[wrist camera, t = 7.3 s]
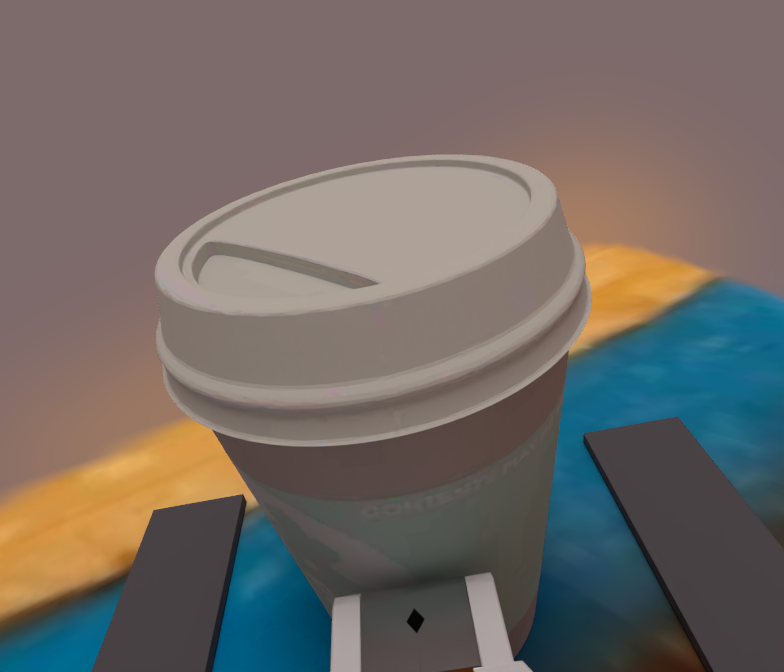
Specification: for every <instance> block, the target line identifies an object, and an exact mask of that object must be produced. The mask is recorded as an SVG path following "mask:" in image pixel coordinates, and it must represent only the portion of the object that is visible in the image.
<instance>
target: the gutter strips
mask: <svg viewBox="0 0 784 672" xmlns="http://www.w3.org/2000/svg"><path fill="white" fill-rule="evenodd" d="M584 443H585V445H586V447H587V449H588V450H589V452H590V454H591V456H592V458H593V460H594V462H595V464H596V465H597V467H598V469H599V471H600V473H601V475H602V477H603V478H604V480H605V482H606V484H607V486H608V488H609V490H610V491H611V493H612V495H613V497H614V499H615V501H616V503H617V505H618V506H619V508H620V510H621V512H622V514H623V516H624V518H625V519H626V521H627V523H628V525H629V527H630V529H631V531H632V532H633V534H634V536H635V538H636V540H637V542H638V544H639V546H640V547H641V549H642V551H643V553H644V555H645V557H646V559H647V560H648V562H649V564H650V566H651V568H652V570H653V572H654V574H655V575H656V577H657V579H658V581H659V583H660V585H661V587H662V588H663V590H664V592H665V594H666V596H667V598H668V600H669V601H670V603H671V605H672V607H673V609H674V611H675V613H676V615H677V616H678V618H679V620H680V622H681V624H682V626H683V628H684V629H685V631H686V633H687V635H688V637H689V639H690V641H691V642H692V644H693V646H694V648H695V650H696V652H697V654H698V656H699V657H700V659H701V661H702V663H703V665H704V667H705V669H706V670H707V672H784V549H783V548H782V547H781V545H780V544H779V543H778V542H777V540H776V539H775V538H774V537H773V535H772V534H771V533H770V532H769V530H768V529H767V528H766V527H765V525H764V524H763V523H762V522H761V520H760V519H759V518H758V517H757V515H756V514H755V513H754V512H753V510H752V509H751V508H750V507H749V505H748V504H747V503H746V502H745V500H744V499H743V498H742V497H741V495H740V494H739V493H738V492H737V490H736V489H735V488H734V487H733V485H732V484H731V483H730V481H729V480H728V479H727V478H726V476H725V475H724V474H723V473H722V471H721V470H720V469H719V468H718V466H717V465H716V464H715V463H714V461H713V460H712V459H711V458H710V456H709V455H708V454H707V453H706V451H705V450H704V449H703V448H702V446H701V445H700V444H699V443H698V441H697V440H696V439H695V438H694V436H693V435H692V434H691V433H690V431H689V430H688V429H687V428H686V426H685V425H684V424H683V422H682V421H681V420H680V419H679V417H674V418H668V419H662V420H657V421H651V422H646V423H640V424H634V425H629V426H623V427H618V428H612V429H606V430H601V431H595V432H590V433H584ZM245 506H246V500H245V497H244V495H243V494H242V495H236V496H231V497H225V498H219V499H214V500H208V501H203V502H197V503H191V504H186V505H180V506H175V507H169V508H163V509H158V510H154V511H153V513H152V516H151V519H150V521H149V524H148V526H147V529H146V532H145V534H144V537H143V539H142V542H141V545H140V547H139V550H138V552H137V555H136V558H135V560H134V563H133V565H132V568H131V571H130V573H129V576H128V578H127V581H126V584H125V586H124V589H123V591H122V594H121V596H120V599H119V602H118V604H117V607H116V609H115V612H114V615H113V617H112V620H111V622H110V625H109V628H108V630H107V633H106V635H105V638H104V641H103V643H102V646H101V648H100V651H99V654H98V656H97V659H96V661H95V664H94V667H93V669H92V672H211V671H212V666H213V661H214V656H215V651H216V646H217V642H218V637H219V632H220V627H221V622H222V617H223V612H224V608H225V603H226V598H227V593H228V588H229V583H230V578H231V574H232V569H233V564H234V559H235V554H236V549H237V544H238V540H239V535H240V530H241V525H242V520H243V515H244V510H245Z"/></svg>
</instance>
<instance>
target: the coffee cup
mask: <svg viewBox="0 0 784 672" xmlns="http://www.w3.org/2000/svg"><path fill="white" fill-rule="evenodd" d="M585 267H586V264H585V257H584V253H583V250H582V248H581V245H580V243H579V242H578V240H577V239H576V237H575V236H574V235H573V234H572V232H571V231H570V230H569V229H568V226H567V223H566V220H565V217H564V213H563V210H562V207H561V203H560V200H559V197H558V194H557V190H556V189H555V187H554V185H553V183H552V182H551V181H550V180H549V179H548V178H547V177H546V176H545V175H544V174H542V173H541V172H540V171H537V170H536V169H533V168H531V167H530V166H527V165H524V164H521V163H518V162H515V161H510V160H505V159H501V158H495V157H487V156H477V155H424V156H410V157H401V158H392V159H384V160H377V161H372V162H365V163H359V164H354V165H350V166H345V167H340V168H335V169H331V170H327V171H323V172H319V173H315V174H311V175H307V176H304V177H301V178H297V179H294V180H291V181H287V182H284V183H281V184H278V185H275V186H272V187H270V188H267V189H265V190H262V191H259V192H256V193H253V194H251V195H249V196H246V197H244V198H242V199H239V200H237V201H235V202H232V203H230V204H228V205H226V206H224V207H222V208H220V209H219V210H217V211H215V212H213V213H211V214H209V215H207V216H206V217H204V218H202V219H201V220H199V221H198V222H196V223H195V224H193V225H192V226H190V227H189V228H187V229H186V230H185V231H183V232H182V233H181V234H180V235H179V236H177V237H176V238H175V239H174V240H173V241H172V242H171V243H170V244H169V245H168V246H167V248H166V249H165V250H164V251H163V253H162V254H161V256H160V258H159V260H158V262H157V265H156V268H155V282H156V290H157V296H158V297H157V298H158V305H159V312H160V320H159V323H158V327H157V332H156V348H157V352H158V356H159V358H160V360H161V362H162V364H163V377H164V382H165V386H166V388H167V391H168V393H169V395H170V396H171V398H172V399H173V401H174V402H175V404H176V405H177V406H178V407H179V408H180V409H181V410H182V411H183V412H184V413H185V414H187V415H188V416H189V417H191V418H192V419H193V420H195V421H197V422H198V423H200V424H202V425H204V426H206V427H208V428H210V429H212V430H213V432H214V433H215V435H216V437H217V438H218V440H219V441H220V443H221V445H222V446H223V448H224V450H225V451H226V453H227V454H228V456H229V458H230V459H231V461H232V462H233V464H234V465H235V467H236V469H237V470H238V472H239V473H240V475H241V476H242V478H243V480H244V481H245V483H246V484H247V486H248V487H249V489H250V491H251V492H252V494H253V495H254V497H255V498H256V500H257V502H258V503H259V505H260V506H261V508H262V509H263V511H264V513H265V514H266V516H267V517H268V519H269V520H270V522H271V524H272V525H273V527H274V528H275V530H276V531H277V533H278V535H279V536H280V538H281V539H282V541H283V542H284V544H285V546H286V547H287V549H288V550H289V552H290V553H291V555H292V557H293V558H294V560H295V561H296V563H297V564H298V566H299V568H300V569H301V571H302V572H303V574H304V575H305V577H306V579H307V580H308V582H309V583H310V585H311V586H312V588H313V590H314V591H315V593H316V594H317V596H318V597H319V599H320V601H321V602H322V604H323V605H324V607H325V608H326V610H327V612H328V613H329V615H330V616H331V618H332V609H333V604H334V600H335V598H338V597H344V596H350V595H356V594H364V593H371V592H377V591H383V590H390V589H396V588H402V587H409V586H413V585H417V584H422V583H427V582H433V581H438V580H444V579H449V578H454V577H460V576H464V577H465V576H470V575H475V574H481V573H486V572H491V574H492V576H493V579H494V583H495V587H496V591H497V595H498V599H499V603H500V607H501V611H502V615H503V619H504V623H505V627H506V631H507V635H508V639H509V643H510V647H511V651H512V655H513V659H514V658H515V657H516V656H517V654H518V653H519V651H520V650H521V648H522V647H523V645H524V643H525V641H526V639H527V637H528V635H529V633H530V630H531V627H532V624H533V620H534V615H535V608H536V601H537V594H538V587H539V580H540V573H541V565H542V558H543V550H544V542H545V534H546V526H547V519H548V511H549V503H550V495H551V487H552V480H553V472H554V464H555V456H556V448H557V440H558V433H559V425H560V417H561V409H562V401H563V394H564V386H565V378H566V368H567V360H568V352H569V349H570V348H571V347H572V345H573V344H574V343H575V341H576V340H577V339H578V337H579V336H580V334H581V332H582V331H583V329H584V327H585V325H586V322H587V320H588V317H589V314H590V310H591V303H592V293H591V287H590V283H589V280H588V277H587V275H586V273H585ZM464 581H465V580H464Z"/></svg>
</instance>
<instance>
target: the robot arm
mask: <svg viewBox="0 0 784 672" xmlns="http://www.w3.org/2000/svg"><path fill="white" fill-rule="evenodd" d="M464 580H465V581H464ZM330 672H533V671H532V670H531V669H530V668H529V667H528V666H527V665H526V664H525V663H524V662H523V661H514V659H513V655H512V651H511V647H510V643H509V639H508V635H507V631H506V627H505V623H504V619H503V615H502V611H501V607H500V603H499V599H498V595H497V591H496V587H495V583H494V579H493V576H492V574H491V572H486V573H481V574H475V575H470V576H465V577H464V576H460V577H454V578H449V579H444V580H438V581H433V582H427V583H422V584H417V585H413V586H409V587H402V588H396V589H390V590H383V591H377V592H371V593H364V594H356V595H350V596H344V597H338V598H335V600H334V604H333V609H332V639H331V669H330Z"/></svg>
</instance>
